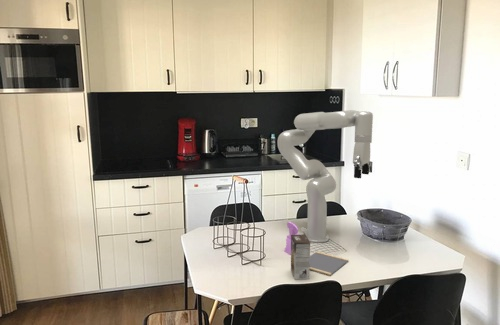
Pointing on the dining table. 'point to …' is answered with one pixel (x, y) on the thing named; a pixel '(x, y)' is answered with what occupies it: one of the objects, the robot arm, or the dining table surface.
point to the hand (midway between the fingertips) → (361, 176)
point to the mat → (326, 263)
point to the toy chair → (292, 231)
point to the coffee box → (300, 256)
